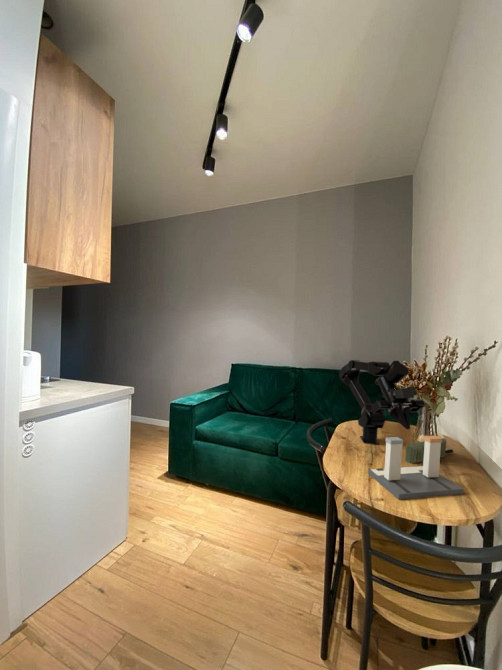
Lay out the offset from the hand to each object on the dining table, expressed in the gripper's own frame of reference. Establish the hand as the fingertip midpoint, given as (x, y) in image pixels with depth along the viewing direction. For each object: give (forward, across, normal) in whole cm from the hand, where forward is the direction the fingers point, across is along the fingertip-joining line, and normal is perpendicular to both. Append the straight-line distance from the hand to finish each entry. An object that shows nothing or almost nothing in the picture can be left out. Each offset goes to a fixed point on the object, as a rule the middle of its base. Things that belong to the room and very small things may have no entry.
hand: (408, 428), depth 94 cm
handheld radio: (+7, +14, +14) cm, 21 cm away
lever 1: (+15, -14, -1) cm, 20 cm away
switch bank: (+17, -6, 0) cm, 18 cm away
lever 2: (+15, 0, 0) cm, 15 cm away
